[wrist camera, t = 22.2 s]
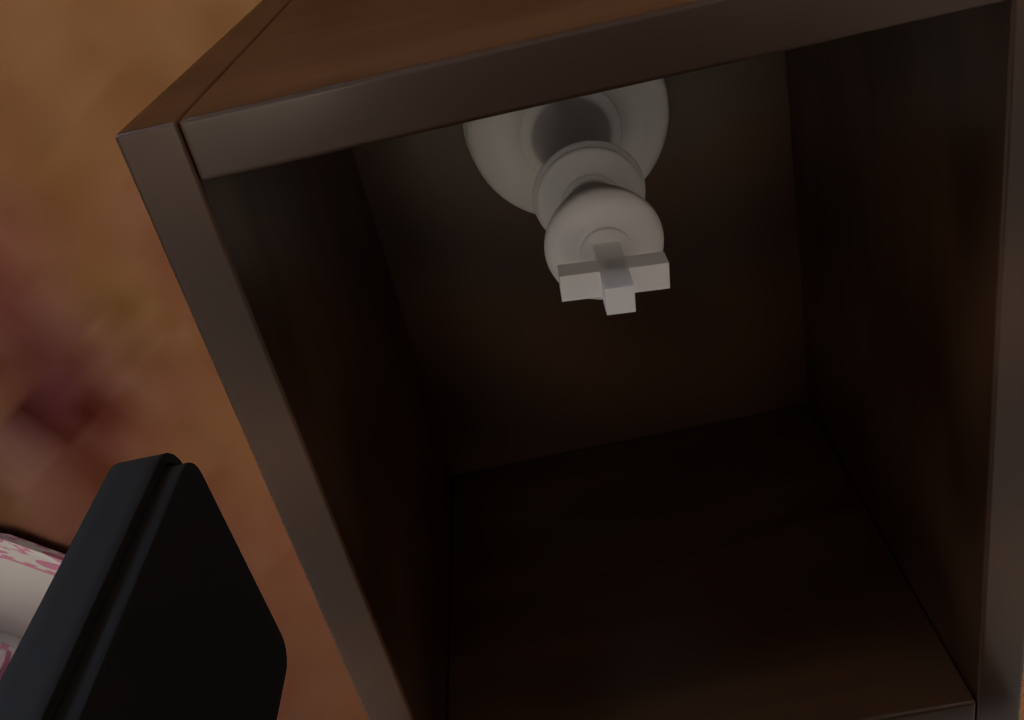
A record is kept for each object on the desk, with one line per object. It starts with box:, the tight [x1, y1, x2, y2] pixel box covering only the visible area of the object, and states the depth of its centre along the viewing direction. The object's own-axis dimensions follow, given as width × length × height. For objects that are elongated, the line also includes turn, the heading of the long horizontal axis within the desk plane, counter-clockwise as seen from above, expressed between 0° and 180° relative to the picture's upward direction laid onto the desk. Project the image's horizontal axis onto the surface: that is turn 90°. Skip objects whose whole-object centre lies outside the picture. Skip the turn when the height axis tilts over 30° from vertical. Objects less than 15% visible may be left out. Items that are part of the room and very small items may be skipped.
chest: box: [116, 0, 1024, 720], centre depth 20 cm, size 15×12×11 cm
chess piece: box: [462, 78, 670, 315], centre depth 18 cm, size 5×5×10 cm
